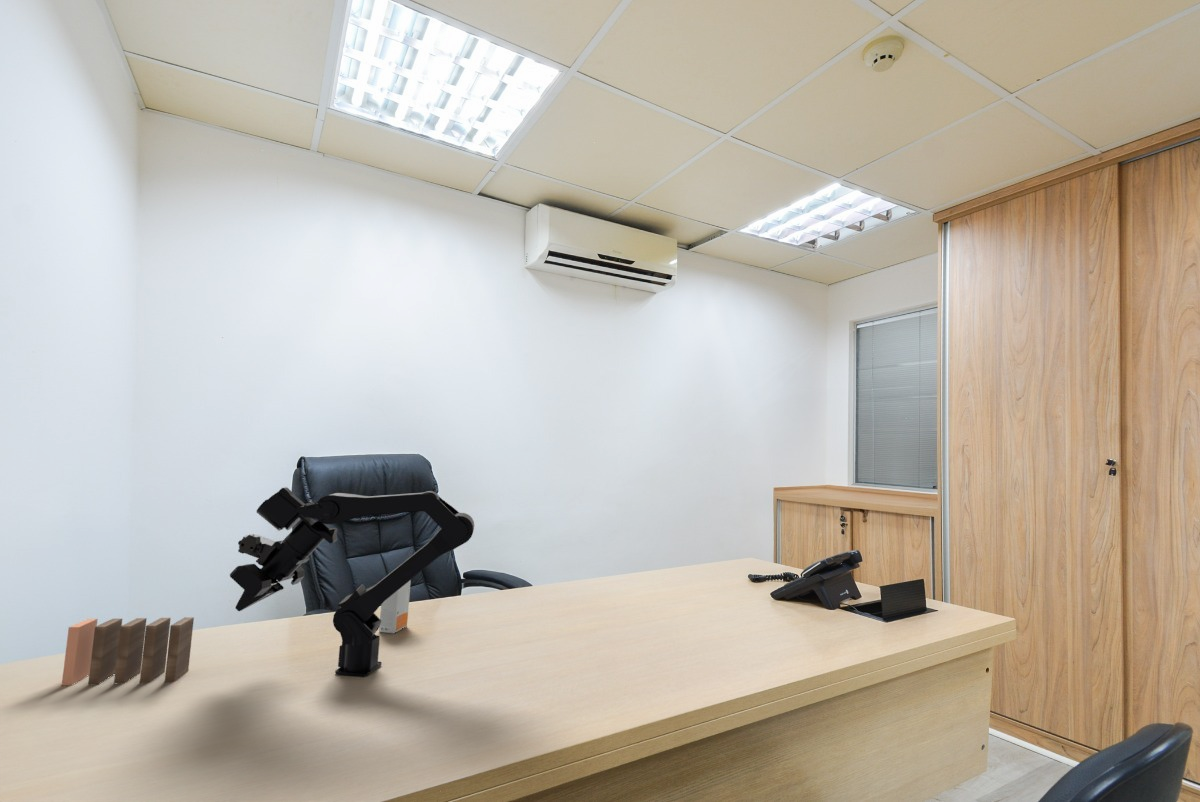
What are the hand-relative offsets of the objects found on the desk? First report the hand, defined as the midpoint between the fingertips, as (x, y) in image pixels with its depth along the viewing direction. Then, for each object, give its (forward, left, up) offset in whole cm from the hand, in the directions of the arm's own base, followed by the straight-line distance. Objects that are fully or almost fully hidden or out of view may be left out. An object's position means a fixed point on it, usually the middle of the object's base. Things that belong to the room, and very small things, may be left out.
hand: (237, 609), depth 109 cm
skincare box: (-17, -31, -12) cm, 38 cm away
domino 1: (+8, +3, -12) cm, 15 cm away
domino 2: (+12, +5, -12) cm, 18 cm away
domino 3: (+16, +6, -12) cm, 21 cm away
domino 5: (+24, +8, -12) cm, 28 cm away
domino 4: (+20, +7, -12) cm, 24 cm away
